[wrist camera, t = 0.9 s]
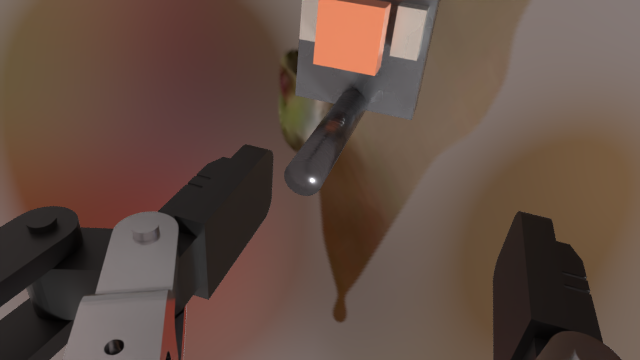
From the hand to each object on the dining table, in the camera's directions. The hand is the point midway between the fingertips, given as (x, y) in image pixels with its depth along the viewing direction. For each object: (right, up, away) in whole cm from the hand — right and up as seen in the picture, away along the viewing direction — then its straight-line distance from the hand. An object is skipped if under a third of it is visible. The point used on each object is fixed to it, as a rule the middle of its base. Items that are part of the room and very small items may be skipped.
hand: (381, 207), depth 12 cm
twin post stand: (+2, +14, +25) cm, 28 cm away
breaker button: (+2, +12, +22) cm, 25 cm away
